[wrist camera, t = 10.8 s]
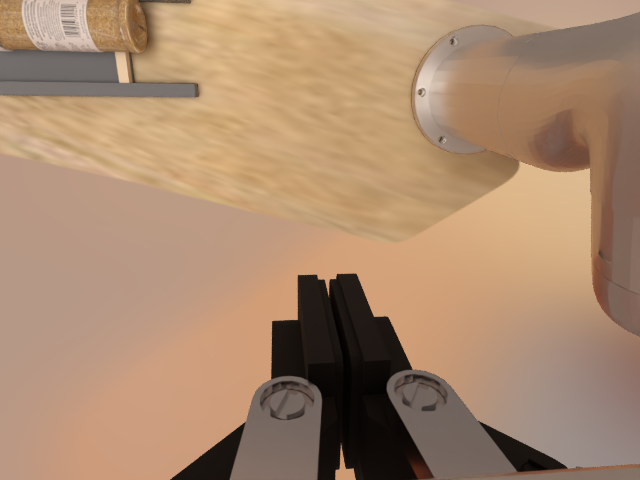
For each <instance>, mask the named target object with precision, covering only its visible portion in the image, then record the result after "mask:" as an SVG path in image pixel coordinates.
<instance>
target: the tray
mask: <svg viewBox="0 0 640 480" xmlns="http://www.w3.org/2000/svg"><path fill="white" fill-rule="evenodd" d="M138 2H169V3H191V1H190V0H138ZM0 95H32V96H120V97H198V96H199V95H198V84H191V83H135V82H134V75H133V67H132V60H131V53H130V52H77V51H43V50H21V49H17V50H13V51H9V52H7V51H0Z"/></svg>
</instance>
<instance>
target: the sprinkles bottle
mask: <svg viewBox="0 0 640 480" xmlns="http://www.w3.org/2000/svg"><path fill="white" fill-rule="evenodd" d="M146 44H147V25H146V20H145V16H144V13H143V10H142V8H141V5H140V3H139V2H138V0H0V51H7V52H9V51H13V50H17V49H21V50H43V51H77V52H133V53H135V54H140V53H142V52H143V51H144V49H145V47H146Z"/></svg>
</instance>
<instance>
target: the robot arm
mask: <svg viewBox="0 0 640 480" xmlns="http://www.w3.org/2000/svg"><path fill="white" fill-rule="evenodd" d="M451 39H452V40H453V43H452V45H451V44H450V40H451ZM418 90H421V94H418ZM411 96H412V109H413V114H414V118H415V120H416V122H417V125H418V127H419V129H420V130H421V132H422V133H423V134H424V136H425V137H426V138H427V139H428V140H429V141H430V142H432V143H433V144H434V145H436V146H438V147H439V148H441V149H443V150H446V151H448V152H452V153H457V154H472V153H478V152H482V151H484V150H487V149H488V150H490V151H493V152H496V153H499V154H501V155H504V156H507V157H510V158H512V159H515V160H518V161H521V162H524V163H526V164H529V165H532V166H535V167H538V168H541V169H544V170H549V171H555V172H573V171H579V170H584V169H588V168H590V181H591V183H590V187H591V188H590V192H591V195H592V203H591V204H592V205H591V210H592V211H591V212H592V213H591V257H592V281H593V288H594V292H595V295H596V298H597V301H598V303H599V304H600V306H601V308H602V310H603V311H604V312H605V313H606V314H607V315H608V317H610V318H611V320H612V321H614V322H615V323H616V324H618V325H619V326H621V327H622V328H624V329H625V330H627V331H628V332H630V333H632V334H635V335H637V336H639V337H640V12H639V13H635V14H632V15H629V16H626V17H622V18H619V19H614V20H609V21H605V22H601V23H595V24H591V25H585V26H578V27H572V28H566V29H561V30H554V31H548V32H541V33H534V34H528V35H521V36H515V37H513V36H512V35H511V34H509V33H508V32H506V31H505V30H502V29H500V28H497V27H495V26H488V25H475V26H468V27H464V28H461V29H458V30H456V31H453V32H451V33H449V34H448V35H446V36H445V37H443V38H442V39H440V40H439V41H438V42H437V43H436V44H435V45H434V46H433V47H432V48H431V49H430V50H429V51H428V53H427V54H426V55H425V57H424V58H423V60H422V61H421V63H420V65H419V67H418V69H417V72H416V75H415V78H414V81H413V87H412V95H411ZM439 137H441V140H440V141H438V139H439ZM341 445H342V451H343V457H344V462H345V467H346V469H352V468H354V473H355V478H356V480H640V464H631V465H616V466H602V467H586V468H583V467H576V468H570V469H568V468H567V467H566V466H565V465H563V464H561V463H560V462H558V461H557V460H555V459H553V458H551V457H549V456H548V455H545V454H544V453H541V452H540V451H538V450H535V449H534V448H531V447H529V446H528V445H526V444H523V443H522V442H519V441H517V440H515V439H513V438H512V437H510V436H507V435H505V434H504V433H501V432H499V431H497V430H495V429H493V428H491V427H489V426H487V425H485V424H483V423H481V422H479V421H477V419H476V418H475V417H474V416H473V414H472V413H471V412H470V410H469V409H468V408H467V407H466V405H465V404H464V403H463V401H462V400H461V399H460V397H459V396H458V395H457V394H456V392H455V391H454V390H453V389H452V387H451V386H450V385H449V384H448V383H447V382H446V381H445V380H444V379H442V378H440V377H438V376H437V375H435V374H432V373H429V372H427V371H421V370H413V369H412V367H411V365H410V363H409V361H408V359H407V356H406V354H405V352H404V350H403V348H402V346H401V343H400V341H399V339H398V337H397V335H396V333H395V330H394V328H393V326H392V324H391V322H390V320H389V318H388V317H374V316H373V314H372V311H371V309H370V306H369V304H368V301H367V299H366V296H365V294H364V291H363V289H362V286H361V284H360V281H359V279H358V276H357V274H337V277H336V279H330V283H329V296H328V292H327V288H326V284H325V280H318V278H317V275H298V320H285V321H272V369H271V380H269V381H267V382H266V383H264V384H262V386H261V387H259V388H258V389H257V390H256V392H255V394H254V396H253V399H252V402H251V406H250V409H249V413H248V416H247V420H246V422H245V423H243V424H242V425H241V426H240V427H238V428H237V429H236V430H234V431H233V432H232V433H231V434H229V435H228V436H227V437H225V438H224V439H223V440H222V441H220V442H219V443H217V444H216V445H215V446H214V447H212V448H211V449H210V450H208V451H207V452H206V453H204V454H203V455H202V456H200V457H199V458H198V459H197V460H195V461H194V462H193V463H191V464H190V465H189V466H187V467H186V468H185V469H184V470H182V471H181V472H180V473H178V474H177V475H176V476H174V477H173V478H172V479H170V480H335V470H338V469H339V468H340V449H341Z"/></svg>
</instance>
